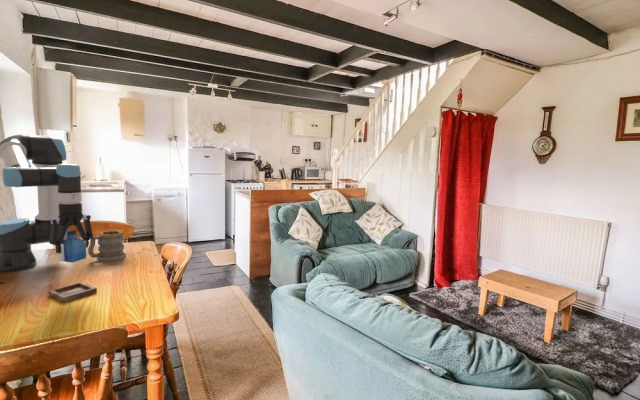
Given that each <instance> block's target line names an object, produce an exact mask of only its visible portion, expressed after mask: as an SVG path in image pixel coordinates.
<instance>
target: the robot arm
mask: <svg viewBox="0 0 640 400" xmlns="http://www.w3.org/2000/svg"><path fill="white" fill-rule="evenodd" d="M65 146H66V145H65V143H64V141H63V140H62V138H61V137H58V136H50V135H34V134H33V135H32V134H31V135H30V134H16V135H11V136H8V137H5V138H4V139H3V140H1V141H0V159H2V160H3V162H4V164H5V165H4V166H5V167H4V168H2V171H1V174H2V184H3V185H4V186H5V187H7V188H9V187H11V188H24V187H26V188H27V187H36V188H37V189H36V190H37V207H38V214H37V215H35V216H34V220H30V219H29V218H27V217H26V218H15V219H10V220H5V221H2V222H0V272H1V273H11V272H18V271H25V270H28V269H31V268H34V267H35V266H37V264H38V263H37V258H36V256H35V255H34V253H33V251H32V245H35V244H36V245H37V244H39V245H40V244H45V243H46V244H47V243H49V244H50V245H53V246H55V253H56V254H58V261H59V262H65V259H64V245H62V241H63V239H67V238H68V237H67V234H68V233H67V231H69V227H71V226H74V227H75V228H76V230H77V232H78V233H79V235H80V238H81V239H82V240H83V241H84V242H85V244H86V249H87V248H89V241H90V238H92V237H93V236H94V235H93V231H92V230H93V229H92V224H91V218H92V217H91V216H92V215H89V214H83V205H82V204H83V203H82V185H81V184H82V181H81V176H82V173H81V167H80V165H79V164H76V163H75V164H74V163H63V162H64V161H67V150H66V147H65ZM30 161H31V163H30ZM31 164H32V165H33V166H34V167H32V165H31ZM82 220H83V224H82V222H81V221H82ZM83 225H84V227H83ZM84 228H85V229H84Z"/></svg>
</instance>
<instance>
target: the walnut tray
mask: <svg viewBox="0 0 640 400" xmlns="http://www.w3.org/2000/svg"><path fill="white" fill-rule="evenodd" d="M97 290H98V288H97V287H95V286H92V285H90V284H89V283H86V282H83V281H78V282H75V283H70V284H68V285H65V286H60V287H58V288H54V289H50V290H48V296H50V297H51V298H53V299H54V300H57V301H59V302H61V303H63V304H65V303H68V302H71V300H72V301H75V300H78V299H80V298H84V297H88V296H91V295H93V294H96V293H97V292H98V291H97Z"/></svg>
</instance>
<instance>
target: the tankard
mask: <svg viewBox="0 0 640 400" xmlns="http://www.w3.org/2000/svg"><path fill="white" fill-rule="evenodd" d="M96 240H97V243H98V244H99V246H98V247H97V248H98V250H97V251H98V252H97V253H94V248H95V245H96ZM124 240H125V236H124V235H123V231H120V230H107V231H102V232H99V234H98V235H96V236H95V235H93V237H92V238H90V239H89V245H88V247H87V248H88V249H87V253H88V255H89V257H90V258H91V259H93V258H95V259H96V258H97V260H100V262H101V261H102V262H105V261H108V262H111V261H117V260H118V261H119V260H122V259H123V258H125V257H126V256H127V253H126V252H124V249H125V244H124V243H123V242H124Z"/></svg>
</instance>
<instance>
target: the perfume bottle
mask: <svg viewBox="0 0 640 400" xmlns="http://www.w3.org/2000/svg"><path fill="white" fill-rule="evenodd" d="M77 232H78V230H77V229H68V231H67V233H68V234H67V237H66V238H65V239H63V241H62V245H64V259H65V261H64V262H67V263H76V262H79V261H81V260H85V259H87V248H86V244H85V242H84V241H83V239H82V237H77V236H78V233H77Z"/></svg>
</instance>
